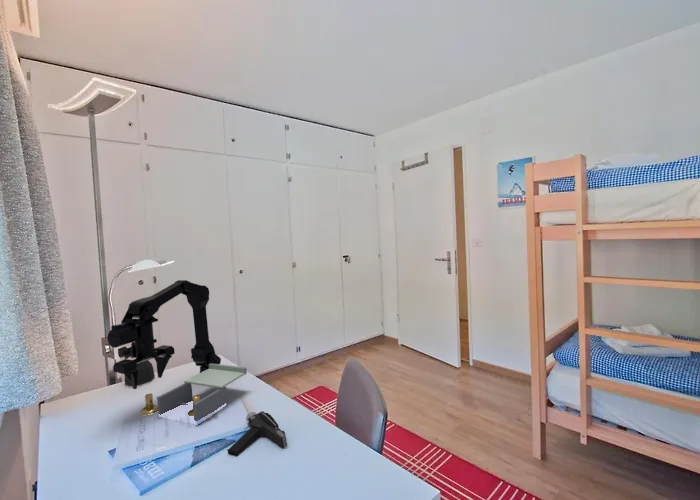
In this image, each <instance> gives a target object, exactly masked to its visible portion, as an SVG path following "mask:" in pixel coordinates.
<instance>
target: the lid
mask: <svg viewBox="0 0 700 500" xmlns="http://www.w3.org/2000/svg"><path fill="white" fill-rule="evenodd" d="M247 373H248V371H247V367H244V366H236V365H228V364H221V363H220V364H212V363H211V364H209V369H207V370H205V371H203V372H201V373H200V372H199V373H197V374H196V375H193V376H192V377H189V378H187V379H185V380H184V381H183V382H184V383H190V384H192V385H198V386H203V387H204V386H205V387H210V388H217V389H219V388H223V387H227V386H228V385H230V384H232V383H233V382H235V381H237V380H238V379H239V378H241V377H243V376H245V375H246V374H247ZM184 383H183V384H184Z"/></svg>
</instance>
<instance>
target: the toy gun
mask: <svg viewBox="0 0 700 500" xmlns="http://www.w3.org/2000/svg"><path fill="white" fill-rule="evenodd" d="M245 417H246V418H245V420H247V421H249V423H250V425H249V429H248V430H246V432H245V433H244V434H243V435H242V436H241V437H240V438H238V440H236V441H235V442H234V443H233V444H232V445H231V447H229V448H227V449H226V450H227V454H228V455H231V456H235V457H238V456H239V455H240V454H241V453H242V452H244V451H245V450H246V449H247V448H248V447H249V445H251V444H252V443H253V442H254V440H255V439H257V437H260V438H263V437H264V438H266V439H267V440H269V441H271V442H272V443H274V445H276V446H278V447H279V448H280V449H284V448H285V447H287V445H288V443H287V436H286V432H285V431H284V430H282V429H281V428H279V424H278V423H277V420H275V418H274V417H273V416H272V415H271V414H269V413H268V412H265V411H263V410H262V411H259V412H258V413H257V412H256V411H251V412H249V413H247V416H245ZM247 421H246V422H247ZM249 423H248V424H249Z"/></svg>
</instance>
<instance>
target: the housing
mask: <svg viewBox="0 0 700 500" xmlns="http://www.w3.org/2000/svg"><path fill="white" fill-rule="evenodd" d="M192 385H193V384H190V383H182V384H180V385H179V386H177V387H175V388H172V389H170V390H168V391H167V392H165V393H163V394H161V395H159V396H157V397H156V402H157V404H156V405H158V412H157V414H160V415H161V414H163V413H165V412H167V411H169V410H172V409H174V408H176V407H178V406H180V405H188V404H186V403H188V402H191V401H193V398H192V397H193V387H192ZM227 397H228V395H227V386H225V387H223V388H217V389H216V390H215V391H213V392H211V393H210V394H208V395H206V396H204V397H203V398H200V400H199V401H198V402H196V403H194V404H193V407H194V420H195V421H198V420H200V419H201V418H203V417H205V416H207V415H208V414H210V413H212V412H214V411H215V410H217V409H218V408H219V407H221V406H222V405H224V404H225V403H227V404H228V398H227Z"/></svg>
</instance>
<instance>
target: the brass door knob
mask: <svg viewBox="0 0 700 500" xmlns="http://www.w3.org/2000/svg"><path fill="white" fill-rule="evenodd" d="M153 397H154V396H153V393H147V394H145V395H144V401H145V402H144V403H145V407H143V408H142V409H140V416H142V415H148V414H151V413H155V412H157V411H158V405H157V404H154V398H153ZM157 413H158V412H157ZM155 414H156V413H155ZM142 417H143V416H142Z"/></svg>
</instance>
